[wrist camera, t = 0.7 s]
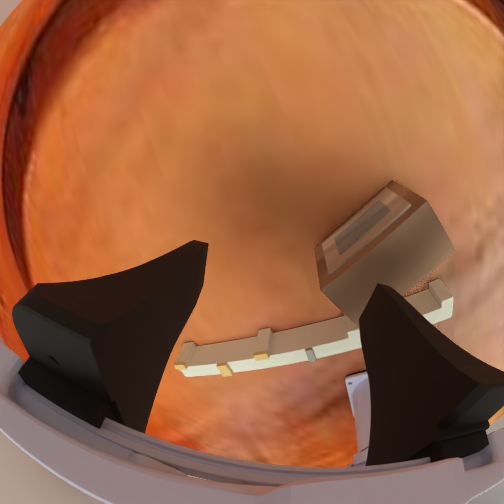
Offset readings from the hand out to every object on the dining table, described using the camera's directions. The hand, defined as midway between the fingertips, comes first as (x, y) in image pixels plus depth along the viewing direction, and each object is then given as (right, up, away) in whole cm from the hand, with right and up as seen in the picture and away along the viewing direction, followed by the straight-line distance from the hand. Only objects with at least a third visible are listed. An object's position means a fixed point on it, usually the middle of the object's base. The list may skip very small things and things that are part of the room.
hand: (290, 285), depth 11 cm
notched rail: (+4, -6, +13) cm, 15 cm away
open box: (+7, +3, +9) cm, 12 cm away
